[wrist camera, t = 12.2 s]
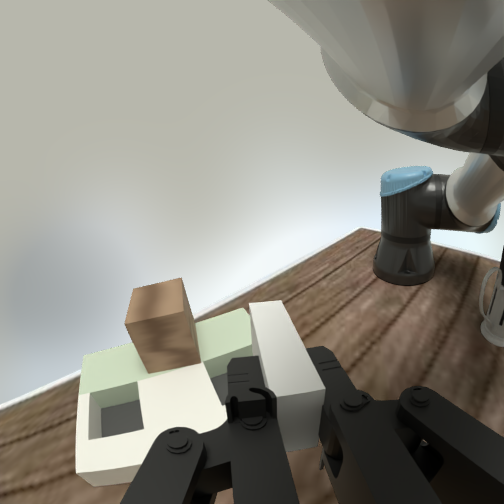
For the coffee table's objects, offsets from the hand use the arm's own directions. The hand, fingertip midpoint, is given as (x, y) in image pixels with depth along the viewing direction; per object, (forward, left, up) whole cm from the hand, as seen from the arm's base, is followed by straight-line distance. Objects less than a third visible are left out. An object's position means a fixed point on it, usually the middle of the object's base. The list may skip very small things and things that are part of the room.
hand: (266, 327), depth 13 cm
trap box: (+8, -19, -23) cm, 31 cm away
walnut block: (+6, -26, -19) cm, 33 cm away
